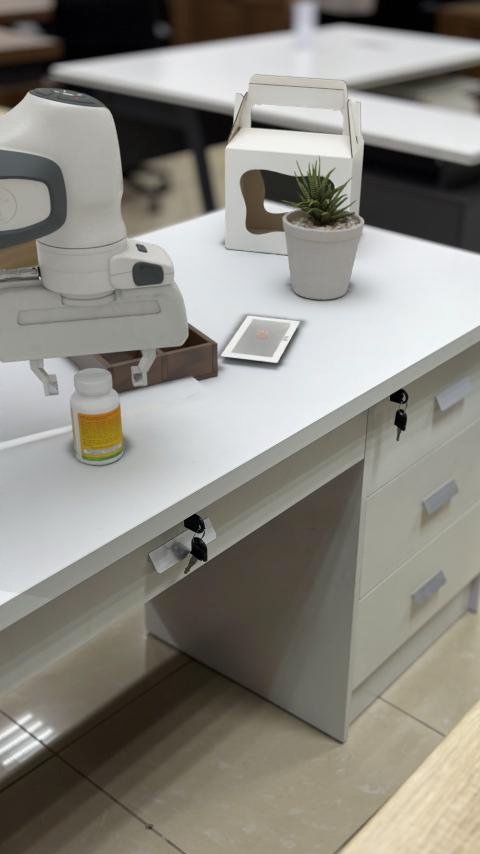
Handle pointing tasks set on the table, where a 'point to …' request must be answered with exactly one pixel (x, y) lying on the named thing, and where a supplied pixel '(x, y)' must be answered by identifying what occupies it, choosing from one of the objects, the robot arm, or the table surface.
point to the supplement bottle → (96, 418)
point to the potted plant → (321, 239)
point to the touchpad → (261, 339)
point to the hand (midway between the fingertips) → (96, 388)
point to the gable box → (286, 156)
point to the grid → (159, 362)
